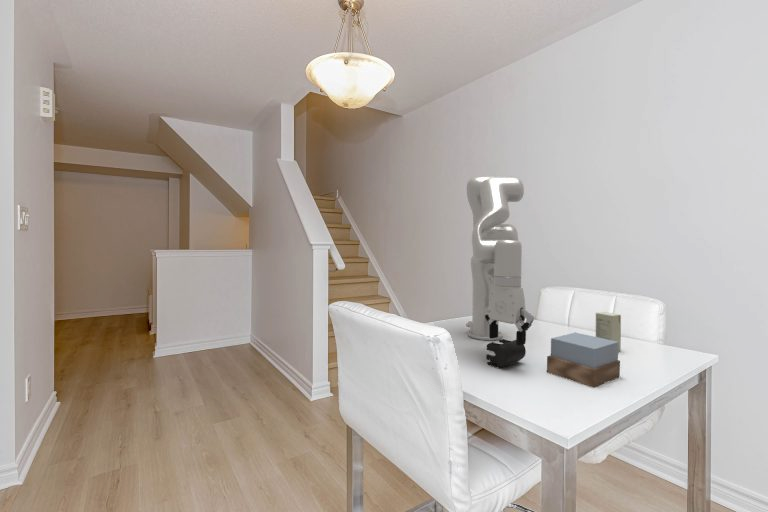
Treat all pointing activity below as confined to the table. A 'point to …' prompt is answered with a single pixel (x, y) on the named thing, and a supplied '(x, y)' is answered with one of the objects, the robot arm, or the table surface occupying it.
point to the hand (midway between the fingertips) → (506, 341)
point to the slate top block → (584, 349)
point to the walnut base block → (583, 371)
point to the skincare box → (609, 327)
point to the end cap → (505, 353)
